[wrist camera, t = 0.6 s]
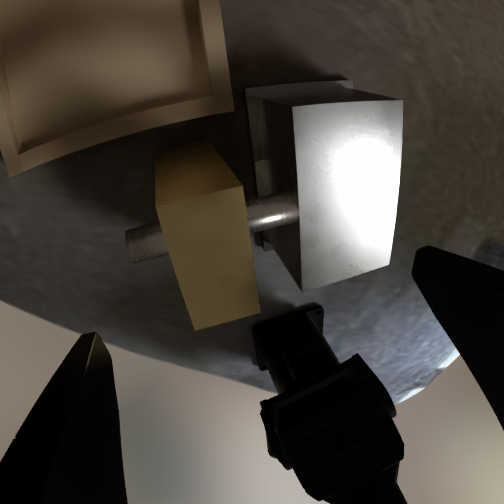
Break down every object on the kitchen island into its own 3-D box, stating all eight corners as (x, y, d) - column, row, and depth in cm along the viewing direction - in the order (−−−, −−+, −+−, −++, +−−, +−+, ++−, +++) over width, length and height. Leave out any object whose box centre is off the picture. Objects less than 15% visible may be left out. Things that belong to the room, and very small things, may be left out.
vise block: (348, 225, 24) (393, 268, 19) (158, 274, 22) (164, 337, 17) (347, 79, 18) (409, 91, 13) (112, 116, 15) (91, 137, 10)
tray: (227, 107, 17) (234, 110, 16) (20, 167, 15) (9, 177, 13) (200, -84, 10) (205, -96, 8) (-12, -18, 7) (-25, -22, 6)
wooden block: (224, 230, 20) (260, 312, 14) (178, 242, 20) (194, 330, 14) (208, 139, 17) (242, 185, 11) (155, 151, 16) (155, 206, 10)
